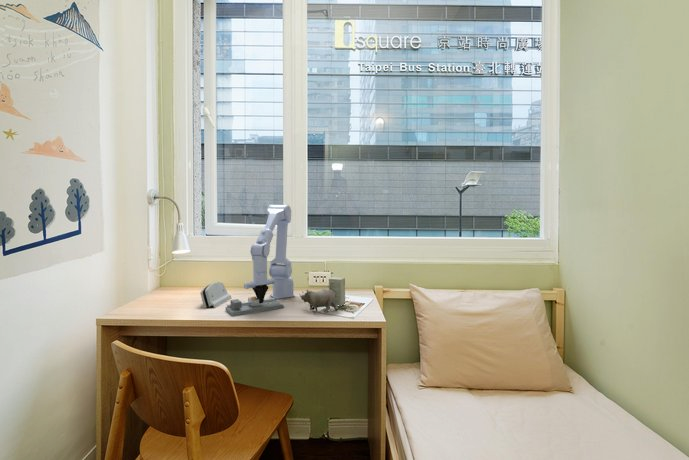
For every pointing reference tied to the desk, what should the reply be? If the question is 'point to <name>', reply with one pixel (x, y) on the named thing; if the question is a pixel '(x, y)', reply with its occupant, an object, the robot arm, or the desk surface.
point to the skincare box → (338, 289)
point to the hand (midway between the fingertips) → (260, 302)
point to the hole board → (251, 307)
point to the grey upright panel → (214, 295)
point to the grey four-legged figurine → (320, 299)
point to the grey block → (253, 301)
